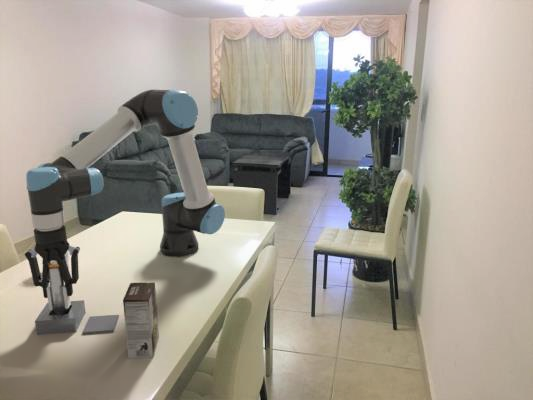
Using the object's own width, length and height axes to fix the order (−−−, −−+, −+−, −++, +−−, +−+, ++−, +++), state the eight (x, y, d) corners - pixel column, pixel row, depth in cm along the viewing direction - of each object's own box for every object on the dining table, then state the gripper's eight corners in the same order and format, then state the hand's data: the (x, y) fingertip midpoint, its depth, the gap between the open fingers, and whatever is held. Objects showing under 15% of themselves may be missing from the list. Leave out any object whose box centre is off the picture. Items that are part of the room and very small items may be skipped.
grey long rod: (70, 315, 123) (62, 261, 118) (66, 322, 120) (59, 266, 115) (57, 316, 122) (49, 261, 118) (53, 323, 119) (45, 266, 115)
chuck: (85, 312, 127) (84, 300, 126) (76, 331, 117) (74, 318, 116) (49, 315, 125) (47, 302, 124) (36, 334, 116) (34, 321, 115)
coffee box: (134, 338, 114) (130, 282, 110) (159, 336, 115) (155, 281, 111) (127, 359, 106) (121, 299, 101) (154, 358, 106) (149, 298, 102)
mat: (118, 316, 125) (118, 314, 125) (113, 331, 117) (113, 329, 117) (89, 318, 124) (89, 316, 123) (82, 334, 116) (82, 332, 116)
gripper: (85, 220, 119) (94, 298, 125) (20, 223, 116) (33, 302, 122) (79, 229, 112) (88, 311, 118) (9, 233, 109) (23, 316, 115)
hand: (60, 306), depth 120 cm, fingers closed on grey long rod, 3 cm apart
